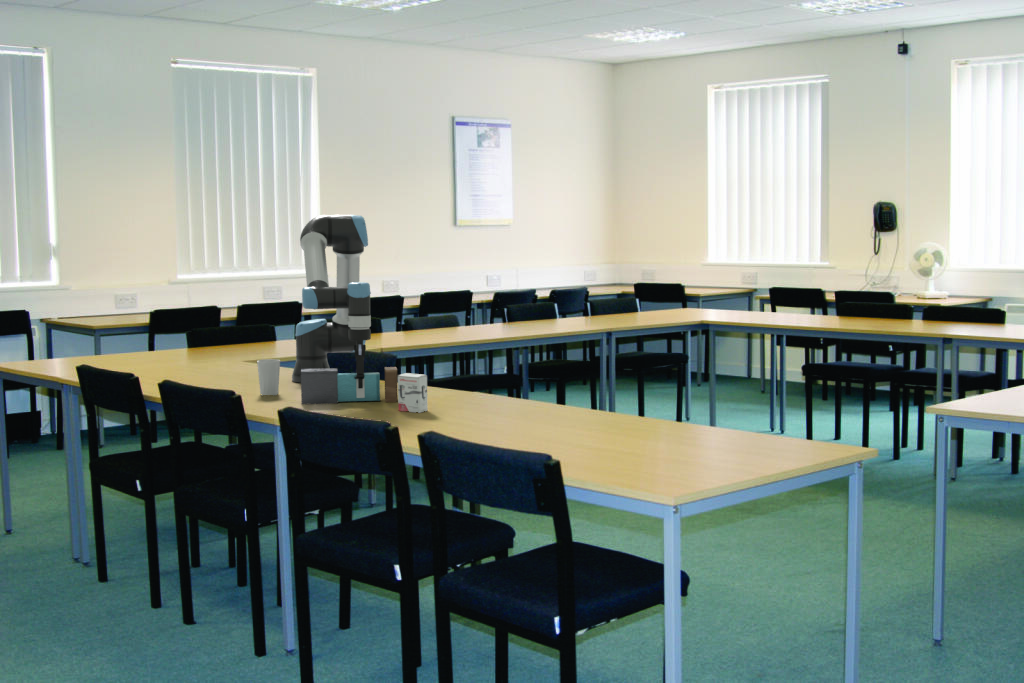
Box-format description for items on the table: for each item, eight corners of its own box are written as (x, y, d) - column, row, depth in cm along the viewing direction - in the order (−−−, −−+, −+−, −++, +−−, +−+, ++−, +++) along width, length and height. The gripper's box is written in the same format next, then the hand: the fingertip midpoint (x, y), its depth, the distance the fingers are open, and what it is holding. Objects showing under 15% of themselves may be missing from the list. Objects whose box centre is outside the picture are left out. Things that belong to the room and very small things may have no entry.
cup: (278, 396, 381) (277, 362, 379) (255, 396, 381) (254, 362, 380) (283, 392, 389) (282, 359, 387) (261, 392, 389) (260, 359, 388)
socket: (384, 398, 375) (384, 367, 373) (396, 398, 375) (396, 367, 374) (385, 402, 368) (385, 369, 367) (397, 401, 369) (397, 369, 367)
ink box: (397, 411, 351) (396, 374, 349) (405, 408, 355) (405, 372, 354) (420, 413, 347) (419, 376, 345) (428, 410, 351) (428, 374, 350)
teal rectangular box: (314, 400, 370) (313, 373, 369) (379, 398, 373) (379, 372, 372) (314, 402, 366) (313, 375, 365) (379, 400, 369) (379, 374, 368)
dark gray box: (302, 400, 370) (301, 368, 369) (337, 400, 372) (337, 368, 371) (301, 404, 364) (300, 371, 362) (337, 403, 365) (337, 370, 364)
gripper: (348, 325, 375) (349, 392, 378) (348, 330, 358) (349, 400, 361) (370, 325, 376) (371, 392, 379) (371, 330, 359) (372, 400, 362)
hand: (360, 396), depth 370 cm, fingers closed on teal rectangular box, 4 cm apart
